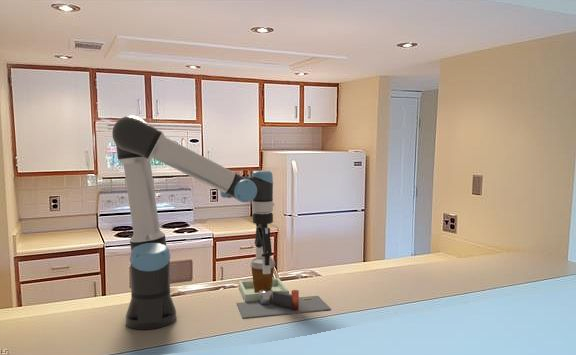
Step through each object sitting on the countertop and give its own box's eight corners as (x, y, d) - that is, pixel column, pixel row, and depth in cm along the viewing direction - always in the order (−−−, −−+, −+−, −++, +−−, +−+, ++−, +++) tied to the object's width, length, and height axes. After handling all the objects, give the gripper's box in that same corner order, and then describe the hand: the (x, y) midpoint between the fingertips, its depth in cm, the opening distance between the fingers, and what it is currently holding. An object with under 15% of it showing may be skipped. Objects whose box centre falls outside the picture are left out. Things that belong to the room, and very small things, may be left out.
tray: (245, 303, 148) (245, 294, 148) (238, 288, 164) (238, 281, 163) (289, 299, 152) (289, 290, 152) (278, 285, 168) (278, 278, 167)
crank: (271, 304, 144) (271, 287, 144) (275, 302, 146) (275, 285, 146) (296, 310, 139) (296, 292, 139) (300, 308, 141) (300, 290, 141)
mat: (242, 318, 134) (242, 317, 134) (236, 304, 147) (236, 302, 147) (331, 309, 142) (331, 308, 142) (318, 296, 155) (318, 295, 155)
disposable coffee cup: (252, 297, 152) (252, 264, 152) (248, 288, 162) (248, 258, 161) (277, 295, 155) (277, 262, 154) (272, 287, 164) (272, 256, 163)
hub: (260, 307, 144) (260, 294, 144) (257, 302, 149) (257, 289, 149) (313, 302, 149) (313, 289, 149) (309, 297, 154) (309, 285, 153)
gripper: (280, 216, 145) (280, 277, 146) (265, 207, 169) (266, 260, 170) (259, 217, 143) (259, 279, 144) (247, 208, 167) (247, 261, 168)
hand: (262, 268), depth 157 cm, fingers open, 13 cm apart
